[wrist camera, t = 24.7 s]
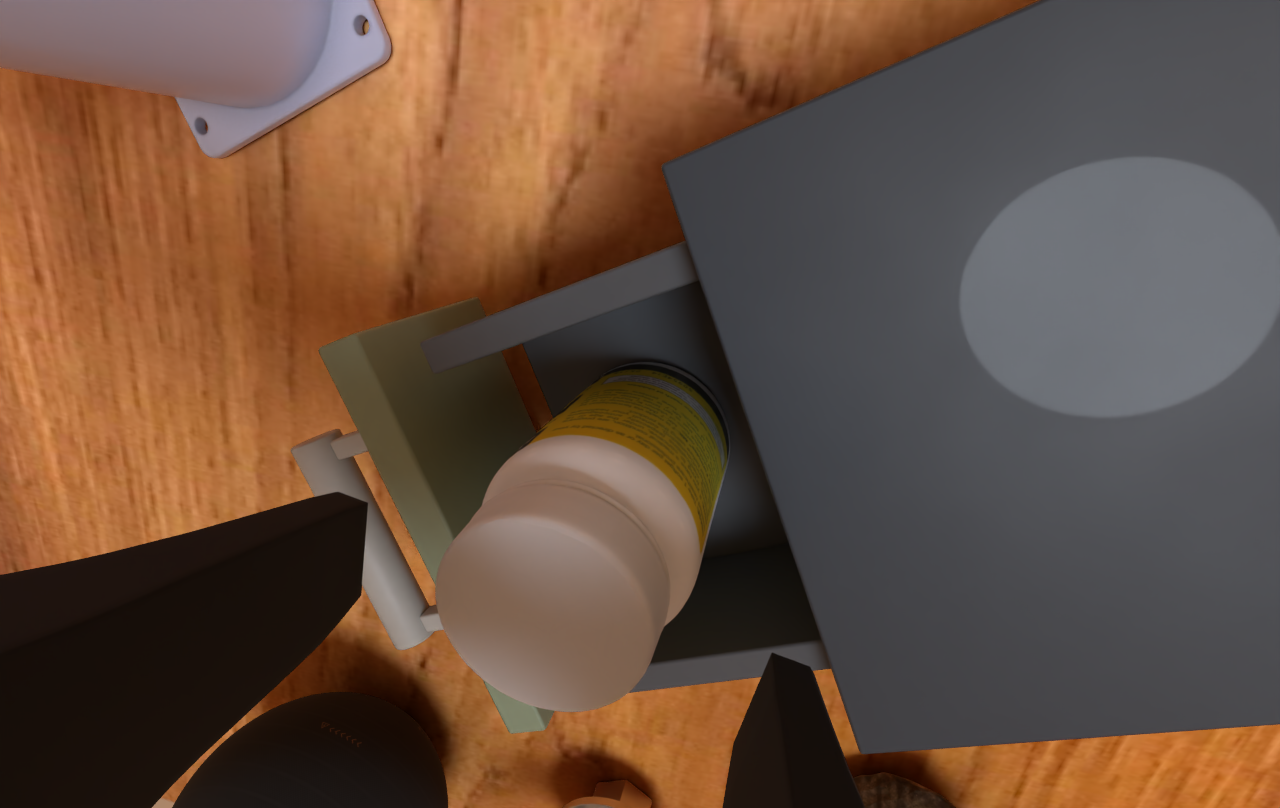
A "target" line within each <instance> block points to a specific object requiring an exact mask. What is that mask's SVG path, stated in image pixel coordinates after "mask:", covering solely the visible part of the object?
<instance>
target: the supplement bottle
mask: <svg viewBox="0 0 1280 808" xmlns="http://www.w3.org/2000/svg"><path fill="white" fill-rule="evenodd" d="M729 455H730V435H729V428H728V424H727V420H726V417H725V415H724V412H723V410H722V408H721V406H720V404H719V403H718V401H717V400H716V398H715V397H714V395H713V394H712V393H711V392H710V391H709V390H708V389H707V388H706V387H705V386H704V385H703V384H702V383H701V382H700V381H699V380H697V379H696V378H694V377H693V376H691V375H690V374H688V373H686V372H684V371H682V370H680V369H678V368H675V367H672V366H669V365H665V364H661V363H653V362H637V363H630V364H625V365H622V366H619V367H616V368H614V369H612V370H610V371H608V372H606V373H604V374H603V375H601V376H600V377H599V378H597V379H596V380H595V381H594V382H592V383H591V384H590V385H589V386H588V387H587V388H586V389H584V390H583V391H582V392H581V393H580V394H579V395H578V396H577V397H576V398H575V399H574V400H572V401H571V402H570V403H569V404H568V405H567V406H566V407H564V408H563V409H562V410H561V411H560V412H559V413H558V414H557V415H556V416H555V417H554V418H553V419H552V420H550V421H549V422H548V423H547V424H546V425H545V426H544V427H543V428H542V429H540V430H539V431H538V432H537V433H536V434H534V435H533V436H532V437H531V438H530V439H529V440H528V441H527V442H526V443H525V444H524V445H522V446H521V447H520V448H519V449H518V450H517V451H516V452H515V453H514V454H513V455H512V456H511V457H509V458H508V460H507V461H506V462H505V463H504V464H503V466H502V467H501V468H500V469H499V471H498V472H497V473H496V474H495V476H494V478H493V479H492V481H491V483H490V485H489V487H488V489H487V491H486V494H485V497H484V499H483V503H482V507H481V508H480V509H479V510H478V511H477V512H476V513H475V515H474V516H473V517H472V519H471V521H470V522H469V523H468V524H467V525H466V527H465V528H464V529H463V530H462V531H461V532H460V533H459V535H458V536H457V537H456V538H455V539H454V540H453V541H452V543H451V544H450V546H449V547H448V549H447V550H446V552H445V554H444V556H443V558H442V560H441V562H440V565H439V568H438V573H437V577H436V604H437V609H438V614H439V617H440V620H441V623H442V626H443V628H444V631H445V633H446V635H447V636H448V638H449V640H450V642H451V643H452V645H453V647H454V648H455V650H456V651H457V653H458V654H459V655H460V657H461V658H462V659H463V660H464V661H465V663H466V664H467V665H468V666H469V667H470V668H471V669H472V670H473V671H474V672H475V673H476V674H477V675H479V676H480V677H481V678H482V679H483V680H484V681H486V682H487V683H489V684H490V685H491V686H493V687H494V688H496V689H497V690H499V691H500V692H502V693H504V694H505V695H507V696H509V697H511V698H513V699H515V700H518V701H520V702H523V703H525V704H528V705H531V706H535V707H538V708H543V709H548V710H553V711H561V712H580V711H588V710H594V709H598V708H601V707H603V706H606V705H609V704H611V703H613V702H615V701H617V700H619V699H620V698H622V697H623V696H625V695H626V694H627V693H629V692H630V691H631V690H632V689H633V688H634V687H635V686H636V684H637V683H638V682H639V681H640V679H641V678H642V677H643V675H644V674H645V672H646V670H647V668H648V666H649V664H650V662H651V660H652V657H653V654H654V651H655V648H656V646H657V643H658V640H659V637H660V635H661V632H662V630H663V628H664V626H665V625H667V624H668V623H669V622H670V621H671V620H672V619H673V618H674V617H675V616H676V615H677V614H678V613H679V612H680V611H681V609H682V608H683V606H684V605H685V603H686V601H687V600H688V598H689V596H690V594H691V592H692V590H693V587H694V585H695V582H696V579H697V576H698V573H699V569H700V565H701V561H702V557H703V553H704V549H705V546H706V542H707V538H708V534H709V530H710V527H711V523H712V519H713V516H714V512H715V508H716V505H717V501H718V498H719V494H720V490H721V487H722V483H723V480H724V476H725V472H726V469H727V466H728V462H729Z"/></svg>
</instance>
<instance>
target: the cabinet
mask: <svg viewBox="0 0 1280 808" xmlns="http://www.w3.org/2000/svg"><path fill="white" fill-rule="evenodd" d="M661 169H662V172H663V175H664V178H665V181H666V184H667V187H668V190H669V193H670V196H671V199H672V202H673V205H674V208H675V211H676V214H677V216H678V219H679V222H680V225H681V228H682V231H683V234H684V237H685V240H686V243H687V246H688V249H689V252H690V255H691V258H692V261H693V263H694V266H695V269H696V272H697V275H698V278H699V281H700V284H701V287H702V290H703V293H704V296H705V299H706V302H707V305H708V308H709V311H710V313H711V316H712V319H713V322H714V325H715V328H716V331H717V334H718V337H719V340H720V343H721V346H722V349H723V352H724V355H725V358H726V360H727V363H728V366H729V369H730V372H731V375H732V378H733V381H734V384H735V387H736V390H737V393H738V396H739V399H740V402H741V405H742V407H743V410H744V413H745V416H746V419H747V422H748V425H749V428H750V431H751V434H752V437H753V440H754V443H755V446H756V449H757V452H758V454H759V457H760V460H761V463H762V466H763V469H764V472H765V475H766V478H767V481H768V484H769V487H770V490H771V493H772V496H773V499H774V502H775V504H776V507H777V510H778V513H779V516H780V519H781V522H782V525H783V528H784V531H785V534H786V537H787V540H788V543H789V546H790V549H791V551H792V554H793V557H794V560H795V563H796V566H797V569H798V572H799V575H800V578H801V581H802V584H803V587H804V590H805V593H806V596H807V598H808V601H809V604H810V607H811V610H812V613H813V616H814V619H815V622H816V625H817V628H818V631H819V634H820V637H821V640H822V643H823V645H824V648H825V651H826V654H827V657H828V660H829V663H830V666H831V669H832V672H833V675H834V678H835V681H836V684H837V687H838V690H839V693H840V695H841V698H842V701H843V704H844V707H845V710H846V713H847V716H848V719H849V722H850V725H851V728H852V731H853V734H854V737H855V740H856V742H857V745H858V748H859V751H860V752H861V754H873V753H887V752H901V751H915V750H929V749H943V748H957V747H971V746H984V745H998V744H1012V743H1026V742H1040V741H1054V740H1068V739H1082V738H1096V737H1109V736H1123V735H1137V734H1151V733H1165V732H1179V731H1193V730H1207V729H1220V728H1234V727H1248V726H1262V725H1276V724H1280V0H1039V1H1037V2H1034V3H1032V4H1030V5H1027V6H1025V7H1023V8H1021V9H1018V10H1016V11H1014V12H1011V13H1009V14H1007V15H1004V16H1002V17H1000V18H997V19H995V20H993V21H991V22H988V23H986V24H984V25H981V26H979V27H977V28H974V29H972V30H970V31H967V32H965V33H963V34H961V35H958V36H956V37H954V38H951V39H949V40H947V41H944V42H942V43H940V44H937V45H935V46H933V47H931V48H928V49H926V50H924V51H921V52H919V53H917V54H914V55H912V56H910V57H907V58H905V59H903V60H901V61H898V62H896V63H894V64H891V65H889V66H887V67H884V68H882V69H880V70H878V71H875V72H873V73H871V74H868V75H866V76H864V77H861V78H859V79H857V80H854V81H852V82H850V83H848V84H845V85H843V86H841V87H838V88H836V89H834V90H831V91H829V92H827V93H824V94H822V95H820V96H818V97H815V98H813V99H811V100H808V101H806V102H804V103H801V104H799V105H797V106H794V107H792V108H790V109H788V110H785V111H783V112H781V113H778V114H776V115H774V116H771V117H769V118H767V119H764V120H762V121H760V122H758V123H755V124H753V125H751V126H748V127H746V128H744V129H741V130H739V131H737V132H735V133H732V134H730V135H728V136H725V137H723V138H721V139H718V140H716V141H714V142H711V143H709V144H707V145H705V146H702V147H700V148H698V149H695V150H693V151H691V152H688V153H686V154H684V155H681V156H679V157H677V158H675V159H672V160H670V161H668V162H665V163H664V164H663V165H662V168H661Z"/></svg>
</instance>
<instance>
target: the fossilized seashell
mask: <svg viewBox="0 0 1280 808" xmlns="http://www.w3.org/2000/svg"><path fill="white" fill-rule="evenodd" d="M853 779H854V782H855V784H856V786H857V789H858V791H859V793H860V796H861V798H862V801H863V803H864V805H865V808H956V807H955V806H954V805H953V804H951V803H950V802H949V801H948V800H947V799H945V798H944V797H943V796H942V795H940V794H938V793H936V792H934V791H932V790H930V789H928V788H926V787H924V786H922V785H920V784H918V783H915V782H913V781H911V780H908V779H906V778H903V777H900V776H897V775H893V774H889V773H885V772H882V773H878V774H873V775H859V776H857V777H854V778H853Z"/></svg>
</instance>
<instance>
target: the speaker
mask: <svg viewBox="0 0 1280 808" xmlns="http://www.w3.org/2000/svg"><path fill="white" fill-rule="evenodd" d="M172 808H448V795H447V786H446V780H445V775H444V771H443V768H442V764H441V762H440V759H439V756H438V754H437V752H436V749H435V747H434V746H433V744H432V742H431V740H430V739H429V737H428V736H427V734H426V733H425V731H424V730H423V729H422V728H421V727H420V725H419V724H418V723H417V722H416V721H415V720H414V719H413V718H412V717H411V716H409V715H408V714H407V713H406V712H404V711H403V710H401V709H400V708H398V707H397V706H395V705H393V704H391V703H389V702H387V701H385V700H382V699H380V698H377V697H374V696H370V695H366V694H360V693H352V692H329V693H321V694H315V695H310V696H306V697H302V698H299V699H296V700H293V701H290V702H287V703H285V704H282V705H280V706H278V707H276V708H273V709H271V710H269V711H268V712H266V713H264V714H262V715H260V716H259V717H257V718H255V719H254V720H252V721H251V722H249V723H248V724H246V725H245V726H243V727H242V728H240V729H239V730H238V731H236V732H235V733H234V734H233V735H231V736H230V737H229V738H228V739H227V740H226V741H224V742H223V743H222V744H221V745H220V746H219V747H218V748H217V749H216V750H215V751H214V752H213V753H212V754H211V755H210V756H209V757H208V758H207V759H206V760H205V761H204V763H203V764H202V765H201V766H200V767H199V768H198V770H197V771H196V772H195V773H194V775H193V776H192V777H191V779H190V780H189V782H188V783H187V784H186V786H185V787H184V789H183V790H182V792H181V793H180V795H179V797H178V798H177V800H176V802H175V803H174V805H173V807H172Z"/></svg>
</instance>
